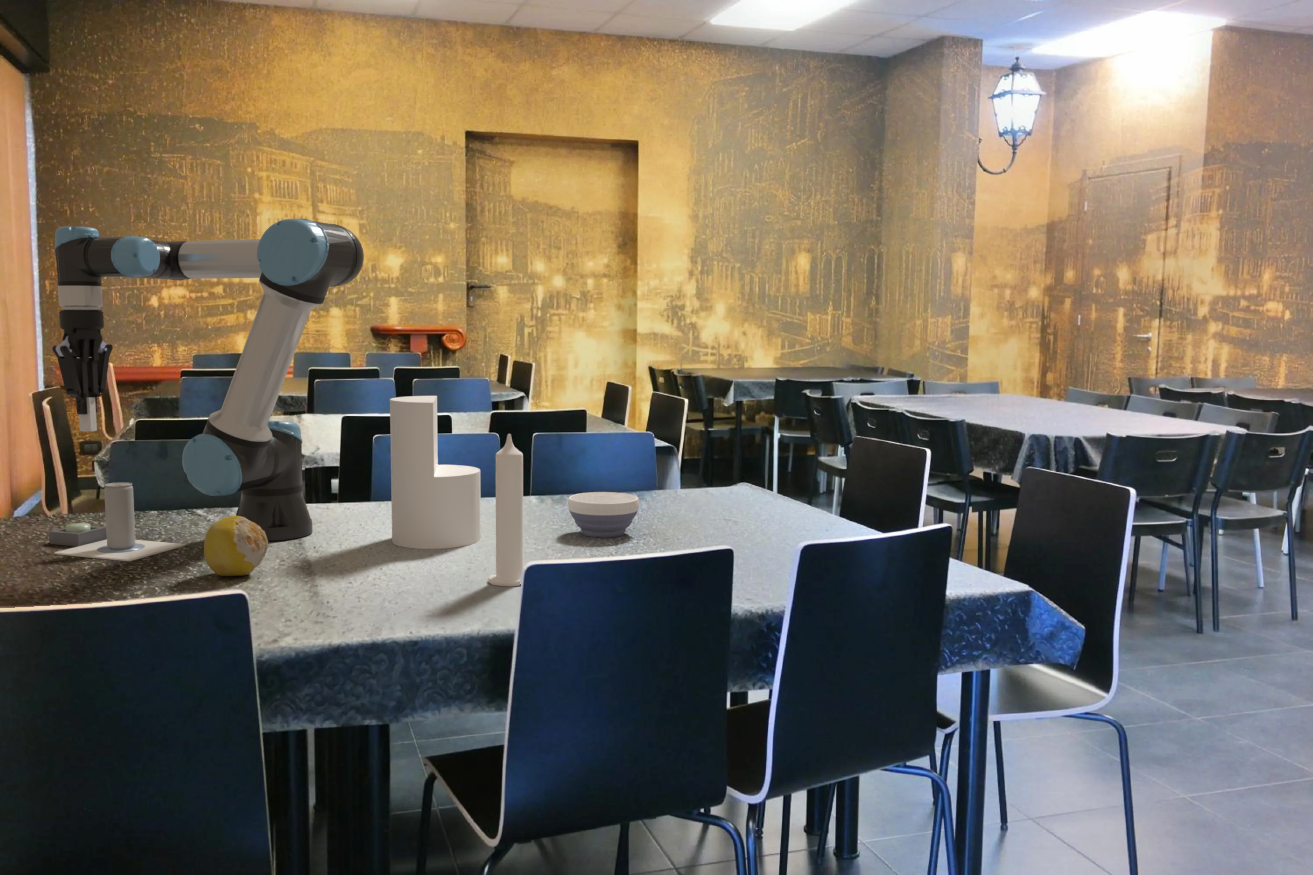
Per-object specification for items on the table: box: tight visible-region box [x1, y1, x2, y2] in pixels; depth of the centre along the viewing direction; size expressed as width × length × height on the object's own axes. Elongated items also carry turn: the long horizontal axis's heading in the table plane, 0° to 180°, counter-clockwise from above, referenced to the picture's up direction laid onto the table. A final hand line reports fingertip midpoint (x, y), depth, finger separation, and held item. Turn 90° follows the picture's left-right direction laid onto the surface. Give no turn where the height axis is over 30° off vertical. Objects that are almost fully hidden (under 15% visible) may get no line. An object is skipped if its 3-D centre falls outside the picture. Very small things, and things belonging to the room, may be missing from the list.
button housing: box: [48, 525, 107, 547], centre depth 208 cm, size 7×7×2 cm
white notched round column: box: [389, 395, 482, 550], centre depth 213 cm, size 17×17×28 cm
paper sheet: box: [53, 539, 186, 562], centre depth 202 cm, size 17×14×1 cm
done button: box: [65, 522, 91, 533], centre depth 208 cm, size 4×4×2 cm
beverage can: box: [103, 481, 136, 550], centre depth 201 cm, size 5×5×12 cm
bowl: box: [567, 491, 640, 539], centre depth 221 cm, size 14×14×8 cm
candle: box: [487, 433, 524, 587], centre depth 180 cm, size 7×7×25 cm
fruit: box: [203, 515, 269, 577], centre depth 183 cm, size 10×11×10 cm
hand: (88, 430), depth 210 cm, fingers closed
